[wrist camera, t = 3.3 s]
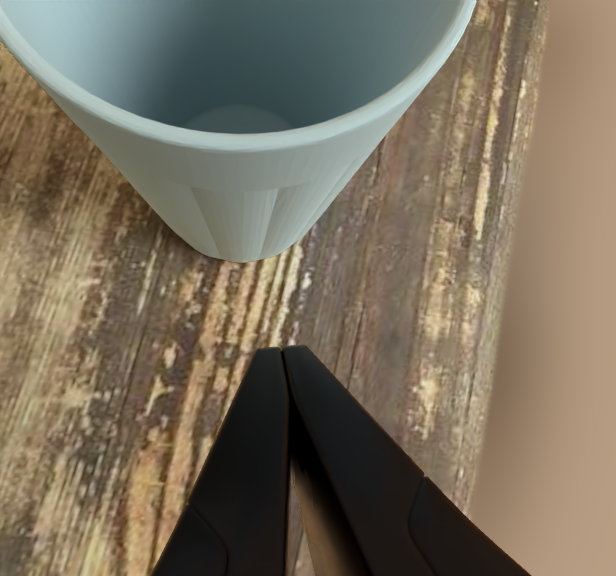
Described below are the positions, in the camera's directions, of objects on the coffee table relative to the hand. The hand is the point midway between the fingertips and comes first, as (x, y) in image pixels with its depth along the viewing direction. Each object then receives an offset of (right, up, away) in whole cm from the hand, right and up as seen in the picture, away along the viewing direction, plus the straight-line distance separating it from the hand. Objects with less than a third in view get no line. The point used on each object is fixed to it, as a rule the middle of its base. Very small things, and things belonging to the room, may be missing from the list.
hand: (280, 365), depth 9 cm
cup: (-2, +5, +9) cm, 10 cm away
